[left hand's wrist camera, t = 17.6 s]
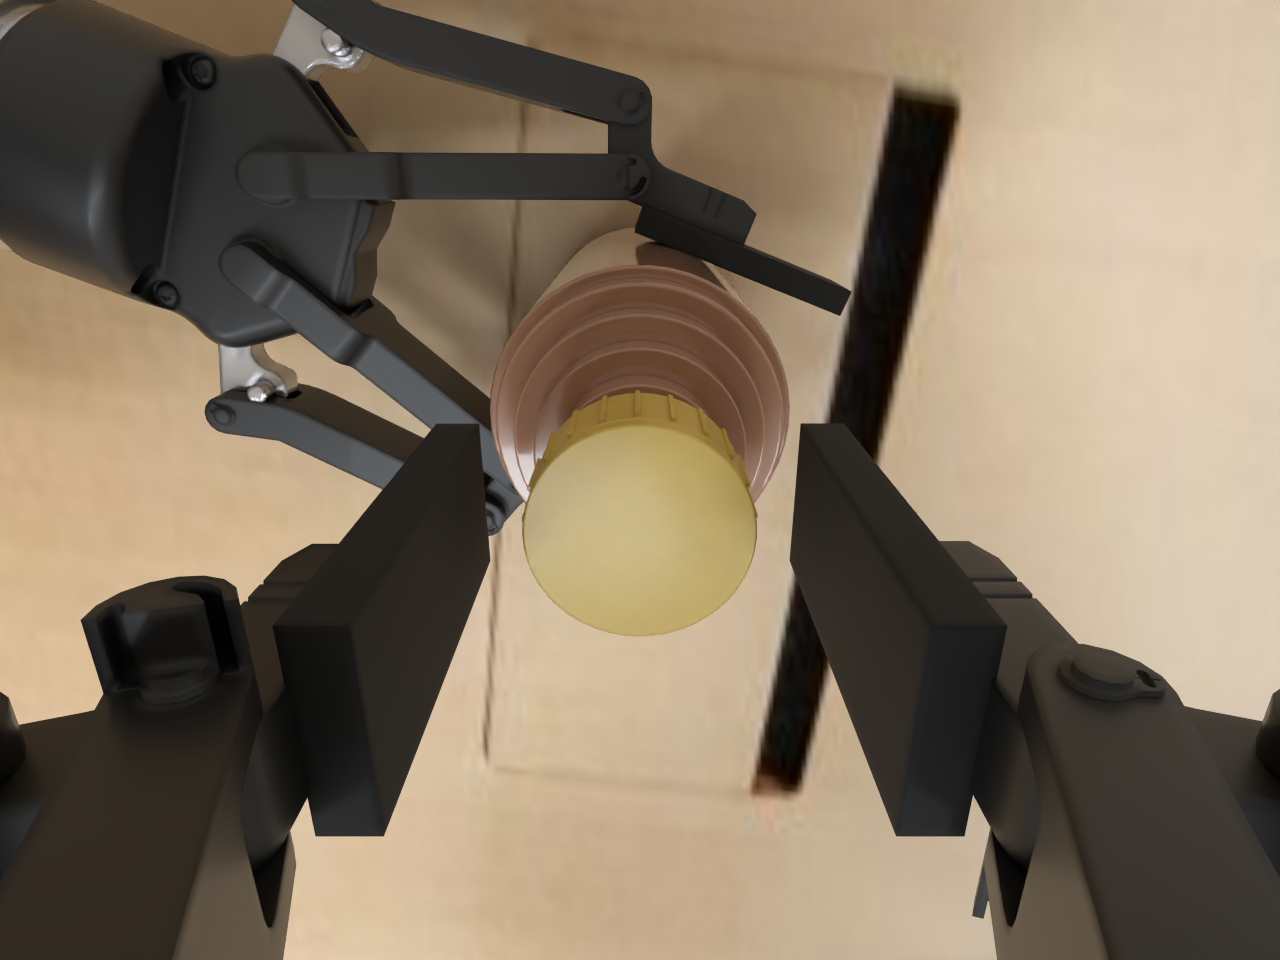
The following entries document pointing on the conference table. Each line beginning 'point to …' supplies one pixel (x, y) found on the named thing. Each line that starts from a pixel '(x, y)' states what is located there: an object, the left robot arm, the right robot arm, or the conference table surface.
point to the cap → (639, 516)
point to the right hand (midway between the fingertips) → (780, 410)
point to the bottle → (639, 353)
